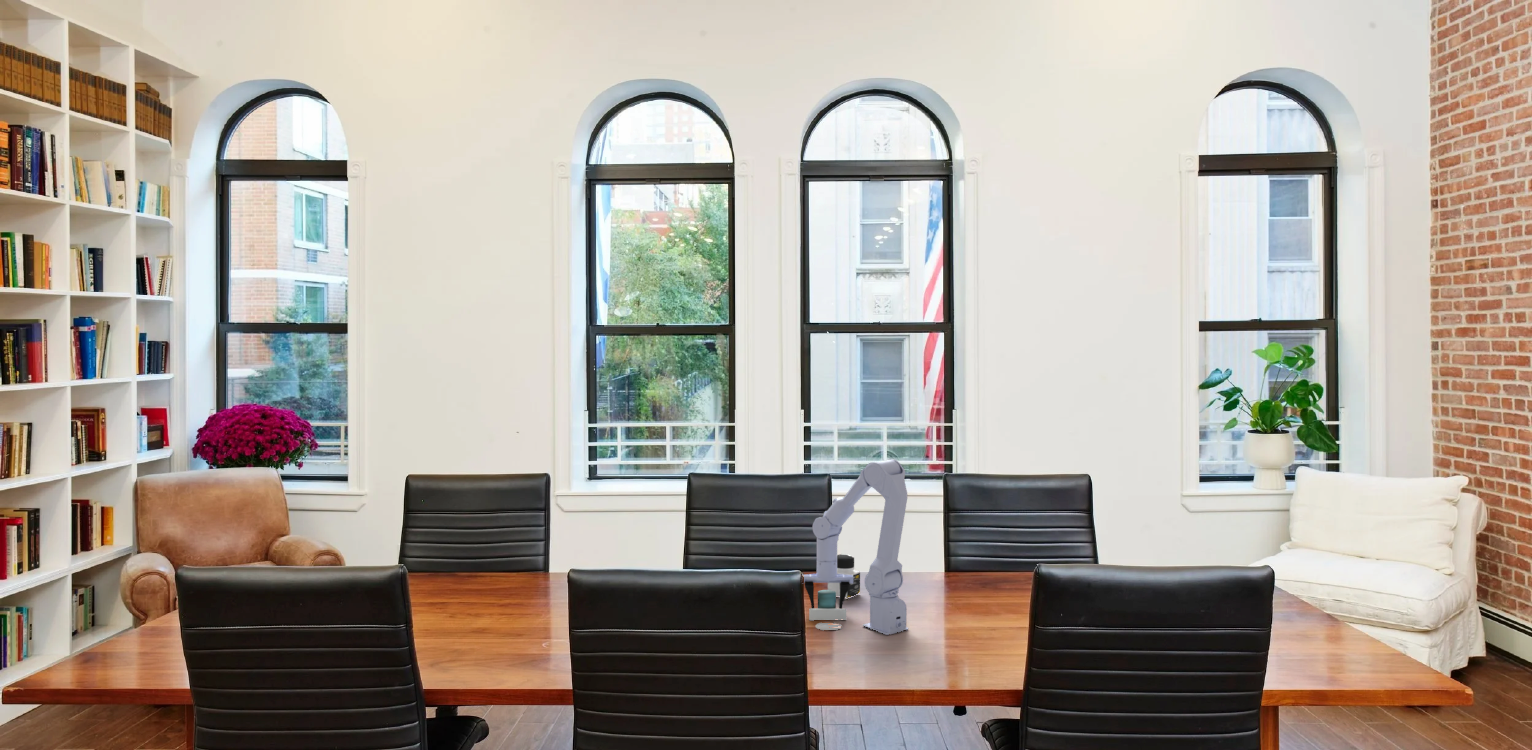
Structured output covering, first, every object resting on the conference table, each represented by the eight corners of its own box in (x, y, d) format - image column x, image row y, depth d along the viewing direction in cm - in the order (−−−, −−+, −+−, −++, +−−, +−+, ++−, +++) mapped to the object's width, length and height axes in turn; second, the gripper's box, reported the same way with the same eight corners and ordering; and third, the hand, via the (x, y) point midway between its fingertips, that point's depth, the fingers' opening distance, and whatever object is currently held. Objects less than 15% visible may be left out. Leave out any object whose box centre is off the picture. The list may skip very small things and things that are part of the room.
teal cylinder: (839, 614, 251) (839, 592, 251) (825, 617, 248) (825, 595, 248) (827, 610, 255) (827, 588, 255) (813, 613, 252) (814, 591, 252)
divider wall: (846, 619, 246) (846, 608, 246) (846, 620, 245) (846, 609, 245) (809, 619, 247) (809, 608, 246) (809, 620, 246) (809, 609, 245)
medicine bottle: (847, 600, 266) (847, 559, 265) (827, 596, 270) (827, 555, 270) (860, 594, 271) (860, 554, 271) (840, 590, 276) (840, 551, 275)
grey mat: (847, 627, 239) (847, 626, 239) (827, 632, 235) (827, 631, 235) (830, 621, 245) (830, 620, 245) (810, 625, 241) (810, 625, 241)
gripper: (852, 556, 255) (851, 604, 256) (800, 556, 256) (800, 604, 256) (854, 562, 248) (853, 611, 249) (800, 562, 249) (800, 611, 249)
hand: (826, 608), depth 252 cm, fingers open, 7 cm apart
